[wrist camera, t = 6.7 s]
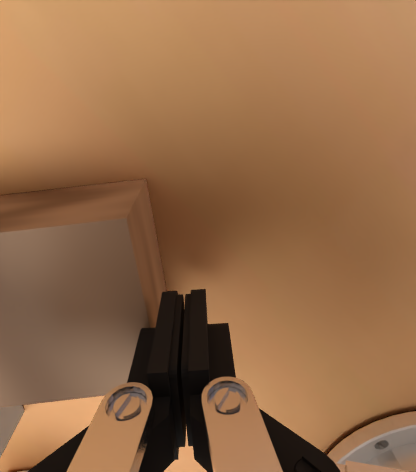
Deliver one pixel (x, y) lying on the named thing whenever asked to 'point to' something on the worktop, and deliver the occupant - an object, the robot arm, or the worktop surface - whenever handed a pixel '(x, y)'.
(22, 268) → the walnut block
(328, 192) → the worktop surface
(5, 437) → the board
